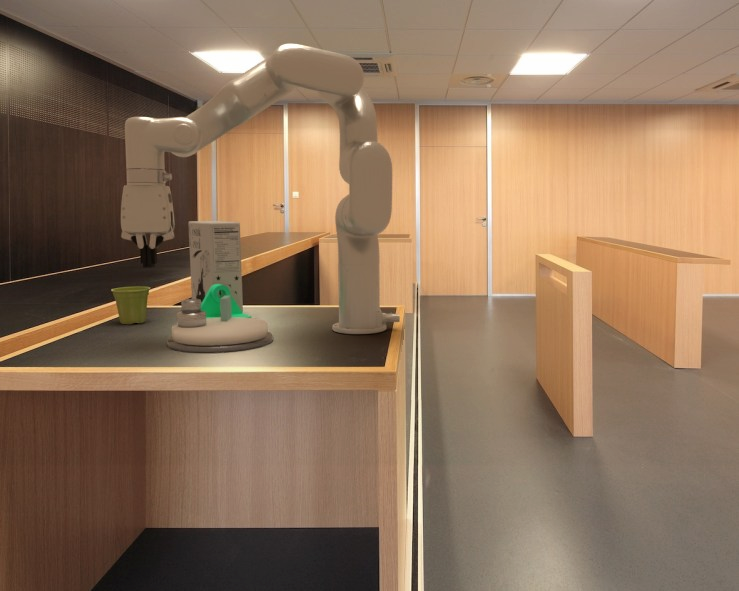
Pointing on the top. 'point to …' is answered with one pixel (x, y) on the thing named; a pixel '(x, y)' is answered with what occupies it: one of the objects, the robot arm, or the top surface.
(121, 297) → the plant pot
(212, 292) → the camera mount
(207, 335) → the turntable
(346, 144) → the robot arm
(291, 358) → the top surface
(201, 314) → the cover
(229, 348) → the turntable base
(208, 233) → the cereal box
